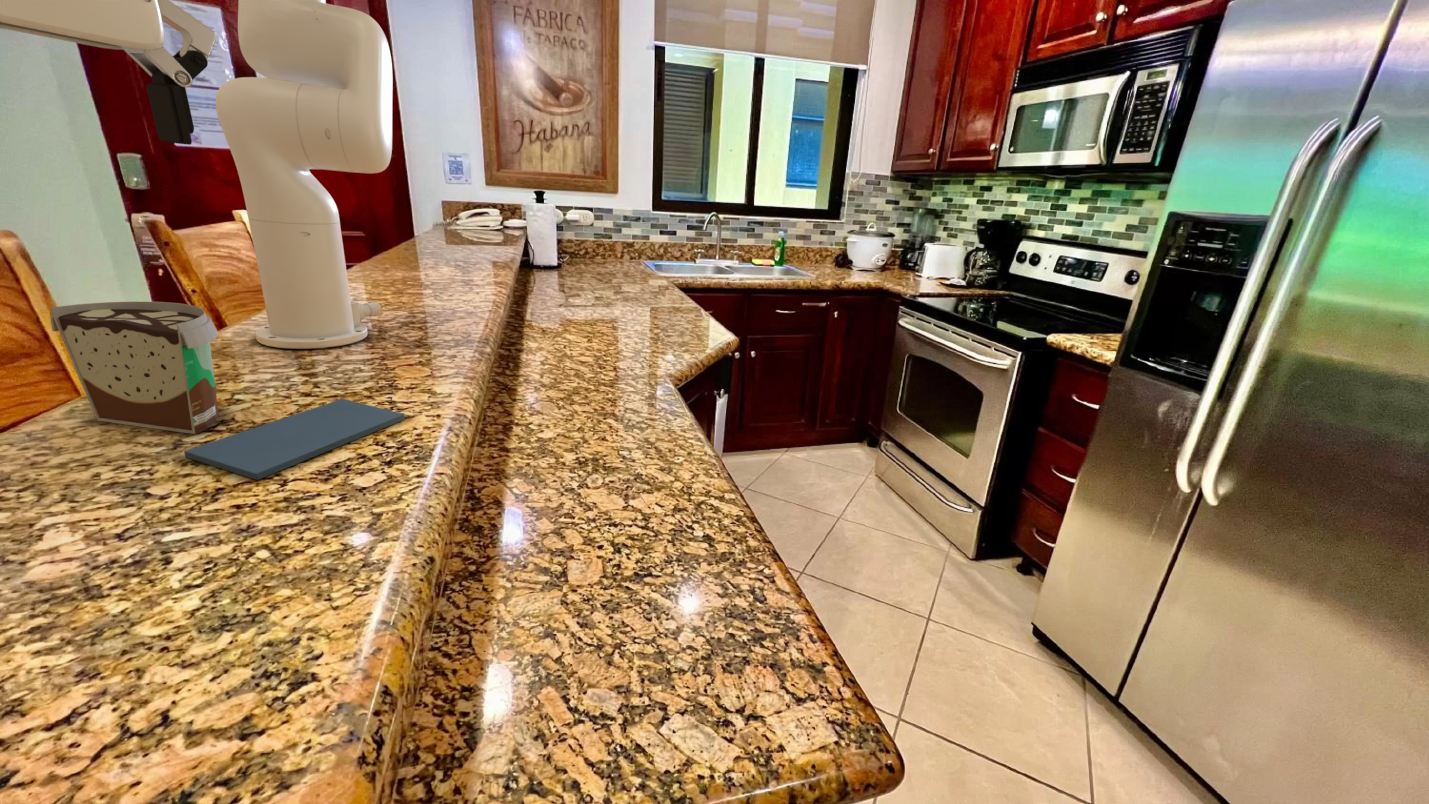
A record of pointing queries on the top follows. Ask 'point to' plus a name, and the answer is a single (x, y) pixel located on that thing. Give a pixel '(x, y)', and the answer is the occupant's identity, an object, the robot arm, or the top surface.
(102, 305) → the food container
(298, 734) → the top surface
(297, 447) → the pad
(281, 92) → the robot arm
